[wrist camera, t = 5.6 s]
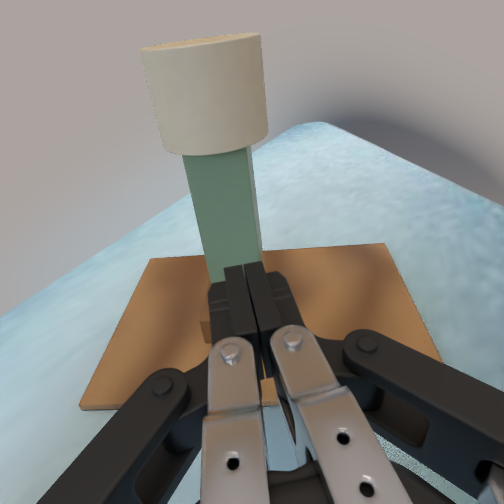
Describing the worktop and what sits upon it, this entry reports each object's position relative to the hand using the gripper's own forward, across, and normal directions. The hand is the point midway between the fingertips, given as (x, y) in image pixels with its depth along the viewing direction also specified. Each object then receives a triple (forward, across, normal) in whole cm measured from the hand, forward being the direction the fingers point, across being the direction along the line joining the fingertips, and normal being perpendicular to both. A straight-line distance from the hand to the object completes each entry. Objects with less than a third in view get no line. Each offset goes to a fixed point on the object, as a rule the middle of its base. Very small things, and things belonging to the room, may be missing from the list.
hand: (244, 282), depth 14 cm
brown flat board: (+7, -1, +9) cm, 11 cm away
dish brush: (+6, 0, +8) cm, 10 cm away
